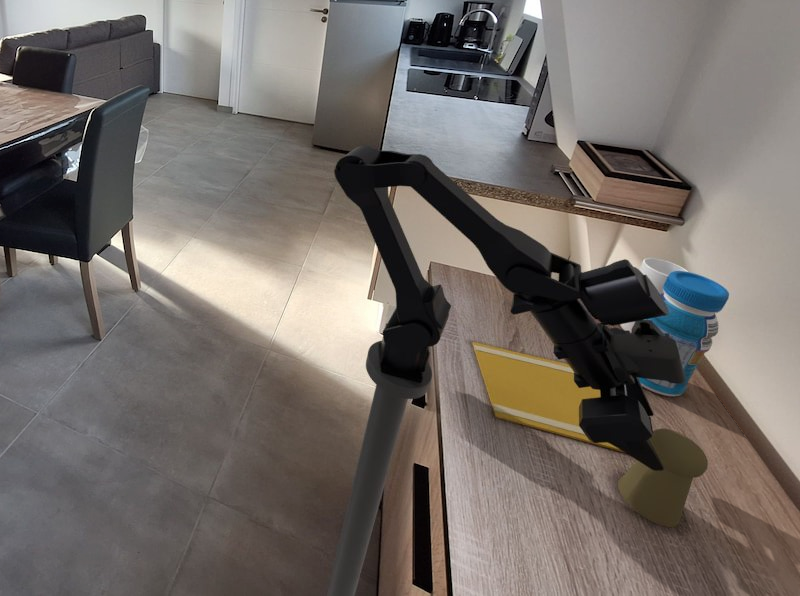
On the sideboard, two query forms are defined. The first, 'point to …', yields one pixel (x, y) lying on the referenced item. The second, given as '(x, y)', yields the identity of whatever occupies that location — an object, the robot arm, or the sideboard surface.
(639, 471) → the cork
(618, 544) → the sideboard surface
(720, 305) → the blue plastic jar
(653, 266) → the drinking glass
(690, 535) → the sideboard surface
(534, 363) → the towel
